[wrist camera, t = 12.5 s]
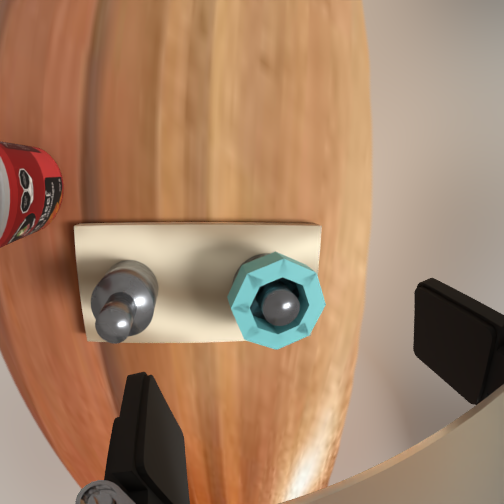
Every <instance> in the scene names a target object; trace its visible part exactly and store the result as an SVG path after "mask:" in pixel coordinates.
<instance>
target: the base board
mask: <svg viewBox="0 0 504 504" xmlns="http://www.w3.org/2000/svg"><path fill="white" fill-rule="evenodd" d="M321 228H322V226H321V225H318V224H313V223H259V222H136V223H84V224H77V225H75V226H74V236H75V251H76V263H77V273H78V282H79V290H80V298H81V305H82V312H83V318H84V325H85V330H86V336H87V341H95V342H107V341H105V340H103V339H102V338H101V337H100V336H99V335H98V333H97V331H96V328H95V321H96V319H95V317H94V315H93V313H92V309H91V296H92V292H93V290H94V288H95V287H96V285H97V284H98V283H99V282H100V280H101V279H102V278H103V277H104V275H105V274H106V273H107V272H108V270H109V269H110V268H111V267H112V266H113V265H114V264H116V263H118V262H120V261H124V260H135V261H138V262H141V263H143V264H145V265H146V266H147V267H149V268H150V269H151V270H152V272H153V273H154V275H155V276H156V279H157V282H158V287H159V288H158V296H157V301H156V305H155V309H154V314H153V317H152V320H151V322H150V324H149V326H148V327H147V328H146V329H145V330H144V331H142V332H141V333H139V334H137V335H134V336H128V337H127V338H126V339H125V340H124V341H123V342H125V343H196V342H227V341H247V340H244V338H243V335H242V333H241V331H240V329H239V326H238V324H237V322H236V319H235V317H234V315H233V312H232V310H231V307H230V304H229V301H228V298H227V296H228V294H229V292H230V290H231V287H232V283H233V278H234V275H235V273H236V271H237V270H238V268H239V267H240V266H241V265H242V263H244V262H245V261H246V260H247V259H249V258H251V257H253V256H255V255H258V254H263V253H273V252H275V251H276V252H278V253H280V254H283V255H285V256H287V257H289V258H292V259H294V260H296V261H299V262H301V263H303V264H306V265H307V266H308V267H310V268H311V269H312V270H314V271H315V272H316V273H317V276H318V266H319V254H320V242H321ZM311 332H312V331H311ZM309 336H311V333H310V335H309Z"/></svg>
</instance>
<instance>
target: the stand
mask: <svg viewBox="0 0 504 504" xmlns="http://www.w3.org/2000/svg"><path fill="white" fill-rule="evenodd" d="M158 288H159V287H158V282H157V279H156V276H155V275H154V273H153V272H152V270H151V269H150V268H149V267H147V266H146V265H145V264H143V263H141V262H138V261H135V260H124V261H120V262H118V263H116V264H114V265H113V266H112V267H111V268H110V269H109V270H108V272H107V273H106V274H105V275H104V277H103V278H102V279H101V280H100V282H99V283H98V284H97V285H96V287H95V288H94V290H93V292H92V296H91V309H92V313H93V315H94V317H95V319H96V321H95V328H96V331H97V333H98V335H99V336H100V337H101V338H102V339H103V340H105V341H107V342H109V343H120V342H123V341H124V340H125V339H126V338H127V337H128V336H134V335H137V334H139V333H141V332H142V331H144V330H145V329H146V328H147V327H148V326H149V324H150V322H151V320H152V317H153V314H154V309H155V305H156V301H157V296H158Z"/></svg>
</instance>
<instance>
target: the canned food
mask: <svg viewBox="0 0 504 504" xmlns="http://www.w3.org/2000/svg"><path fill="white" fill-rule="evenodd" d="M62 198H63V180H62V175H61V172H60V169H59V167H58V165H57V163H56V162H55V161H54V160H53V158H52V157H51V156H50V155H49V154H48V153H47V152H45V151H44V150H42V149H40V148H36V147H30V146H25V145H18V144H12V143H6V142H0V247H3V246H5V245H7V244H9V243H11V242H14V241H16V240H18V239H20V238H23V237H25V236H27V235H30V234H32V233H34V232H37V231H39V230H41V229H43V228H45V227H46V226H47V225H48V224H50V222H51V221H52V220H53V219H54V217H55V216H56V214H57V212H58V210H59V208H60V205H61V202H62Z"/></svg>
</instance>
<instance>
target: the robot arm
mask: <svg viewBox="0 0 504 504" xmlns="http://www.w3.org/2000/svg"><path fill="white" fill-rule="evenodd" d="M414 318H415V319H414V346H413V347H414V348H413V349H414V353H415V355H416V356H417V357H418V358H419V359H420V360H421V361H422V362H423V363H425V364H426V365H427V366H428V367H429V368H430V369H432V370H433V371H434V372H435V373H436V374H437V375H438V376H440V377H441V378H442V379H443V380H444V381H445V382H447V383H448V384H449V385H450V386H451V387H452V388H453V389H454V390H456V391H457V392H458V393H459V394H460V395H461V396H463V397H464V398H465V399H466V400H467V401H468V402H469V403H471V404H475V405H476V406H475V407H474V408H472V409H471V410H469V411H468V412H466V413H465V414H464V415H462V416H461V417H459V418H458V419H456V420H455V421H453V422H452V423H450V424H449V425H447V426H446V427H444V428H442V429H441V430H439V431H438V432H436V433H435V434H433V435H431V436H430V437H428V438H426V439H425V440H423V441H421V442H420V443H418V444H416V445H414V446H413V447H411V448H409V449H407V450H406V451H404V452H402V453H400V454H398V455H396V456H394V457H392V458H390V459H389V460H387V461H385V462H383V463H381V464H378V465H376V466H374V467H372V468H370V469H368V470H366V471H364V472H362V473H359V474H357V475H355V476H353V477H351V478H348V479H346V480H343V481H341V482H339V483H336V484H334V485H331V486H328V487H326V488H323V489H321V490H318V491H315V492H313V493H310V494H307V495H304V496H301V497H298V498H295V499H292V500H289V501H286V502H282V503H279V504H504V315H502V314H501V313H499V312H497V311H495V310H493V309H491V308H490V307H488V306H486V305H484V304H482V303H480V302H478V301H477V300H475V299H473V298H471V297H469V296H467V295H465V294H463V293H461V292H459V291H457V290H456V289H454V288H452V287H450V286H448V285H446V284H444V283H442V282H440V281H438V280H436V279H434V278H430V279H427V280H425V281H423V282H420V283H419V284H418V286H417V288H416V290H415V317H414ZM76 504H190V501H189V491H188V481H187V470H186V458H185V444H184V436H183V433H182V430H181V428H180V427H179V425H178V423H177V421H176V419H175V418H174V416H173V414H172V412H171V410H170V408H169V406H168V404H167V403H166V401H165V399H164V397H163V395H162V393H161V391H160V389H159V387H158V385H157V383H156V381H155V379H154V377H153V376H152V375H147V374H146V373H145V372H141V373H136V374H132V375H128V376H127V380H126V385H125V390H124V395H123V401H122V406H121V411H120V417H117V418H115V420H114V423H113V428H112V434H111V439H110V445H109V451H108V457H107V464H106V470H105V477H104V480H98V481H94V482H91V483H90V484H88V485H86V486H85V487H84V488H83V489H81V491H80V492H79V494H78V495H77V498H76Z"/></svg>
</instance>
